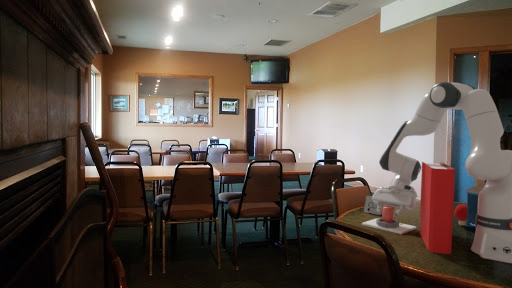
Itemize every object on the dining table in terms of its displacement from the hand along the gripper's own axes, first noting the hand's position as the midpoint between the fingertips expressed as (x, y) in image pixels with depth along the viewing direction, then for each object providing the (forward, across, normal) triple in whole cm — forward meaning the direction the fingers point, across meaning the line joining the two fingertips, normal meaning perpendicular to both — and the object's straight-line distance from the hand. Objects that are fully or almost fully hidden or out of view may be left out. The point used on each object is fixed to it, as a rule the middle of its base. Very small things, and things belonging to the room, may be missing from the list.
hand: (387, 212), depth 176 cm
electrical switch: (-9, -19, +20) cm, 29 cm away
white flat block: (+4, 0, +6) cm, 7 cm away
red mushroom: (-16, +22, +27) cm, 38 cm away
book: (+9, +24, +1) cm, 26 cm away
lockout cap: (+4, 0, +5) cm, 6 cm away
